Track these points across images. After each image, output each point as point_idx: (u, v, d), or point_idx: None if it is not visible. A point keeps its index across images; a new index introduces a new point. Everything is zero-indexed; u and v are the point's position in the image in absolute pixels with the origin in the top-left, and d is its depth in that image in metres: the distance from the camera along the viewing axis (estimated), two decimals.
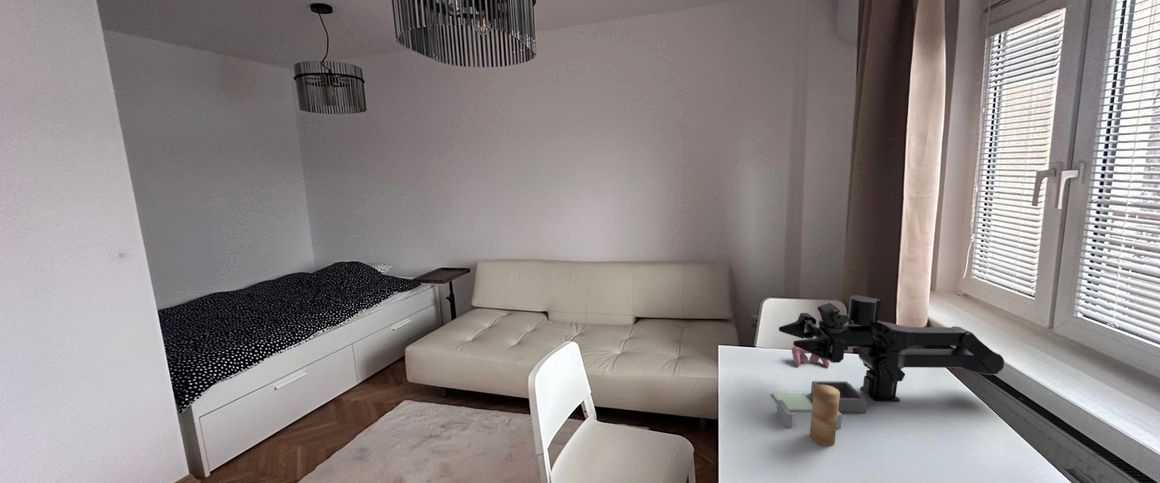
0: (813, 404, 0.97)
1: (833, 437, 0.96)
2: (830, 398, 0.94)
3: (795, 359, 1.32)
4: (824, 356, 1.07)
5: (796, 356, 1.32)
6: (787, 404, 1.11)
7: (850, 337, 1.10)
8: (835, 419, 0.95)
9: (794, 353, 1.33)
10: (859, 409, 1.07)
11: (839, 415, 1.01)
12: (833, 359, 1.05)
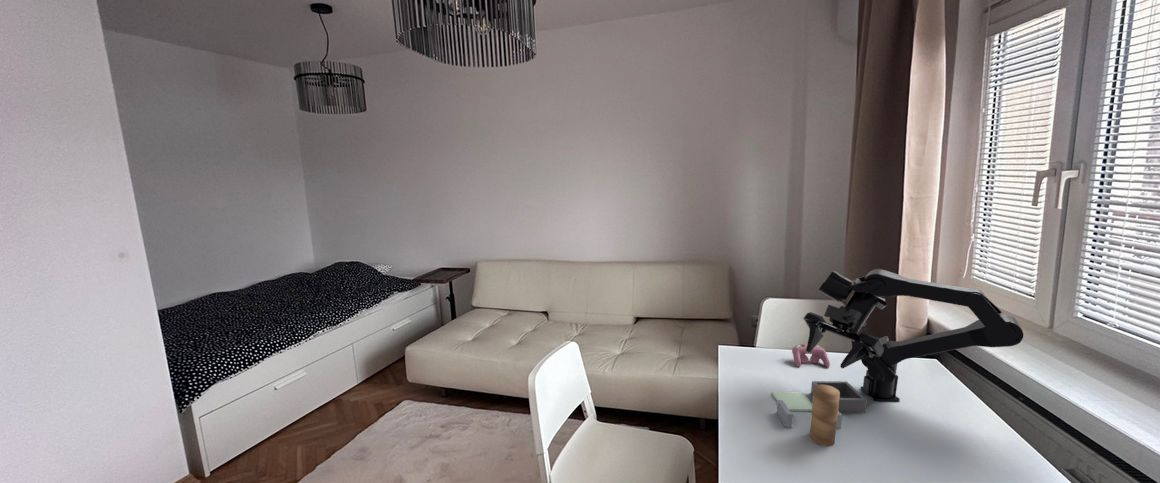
0: (813, 404, 0.97)
1: (833, 437, 0.96)
2: (830, 398, 0.94)
3: (796, 359, 1.32)
4: (868, 355, 1.07)
5: (797, 356, 1.32)
6: (787, 404, 1.11)
7: (864, 316, 1.11)
8: (835, 419, 0.95)
9: (794, 353, 1.33)
10: (859, 409, 1.07)
11: (839, 415, 1.01)
12: (879, 355, 1.06)
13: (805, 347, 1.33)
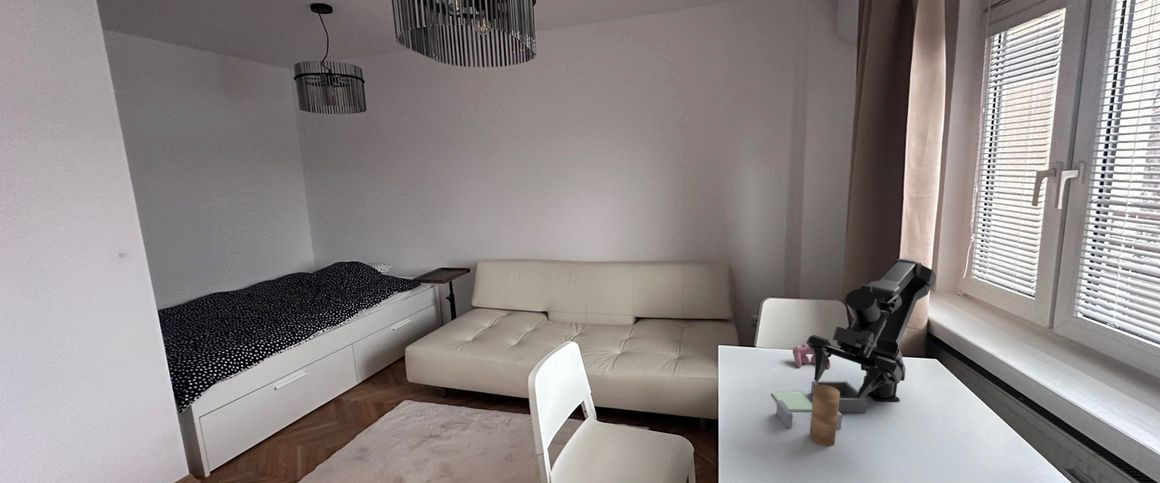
0: (813, 404, 0.97)
1: (833, 437, 0.96)
2: (830, 398, 0.94)
3: (796, 360, 1.32)
4: (885, 382, 0.95)
5: (797, 357, 1.32)
6: (787, 404, 1.11)
7: (874, 337, 0.99)
8: (835, 419, 0.95)
9: (795, 354, 1.33)
10: (859, 409, 1.07)
11: (839, 415, 1.01)
12: (898, 381, 0.94)
13: (806, 347, 1.33)
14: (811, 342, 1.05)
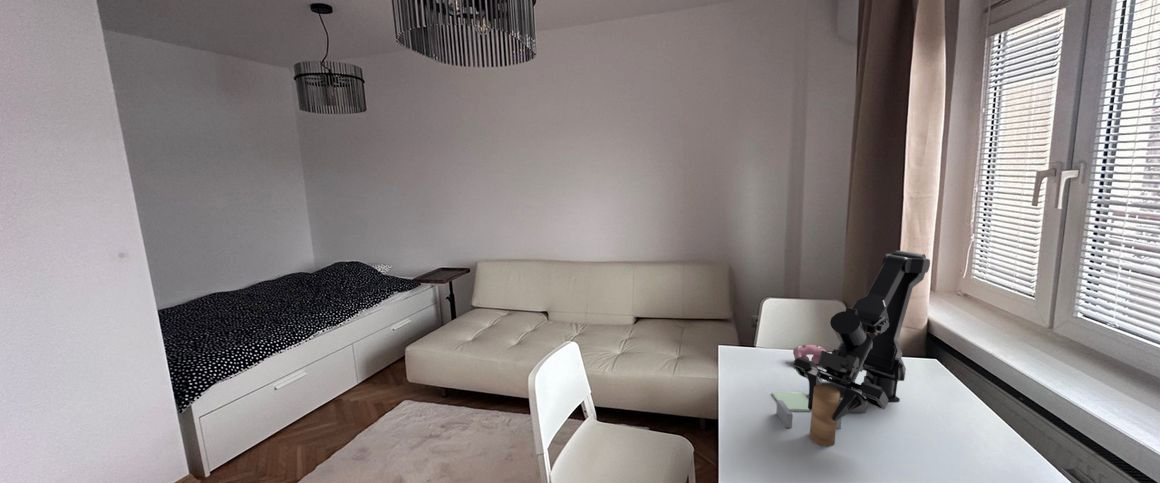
0: (813, 404, 0.97)
1: (833, 437, 0.96)
2: (830, 398, 0.94)
3: None
4: (862, 404, 0.95)
5: None
6: (787, 404, 1.11)
7: (861, 361, 0.97)
8: None
9: (796, 354, 1.32)
10: (859, 409, 1.07)
11: None
12: (884, 407, 0.91)
13: (806, 348, 1.32)
14: (797, 365, 1.03)
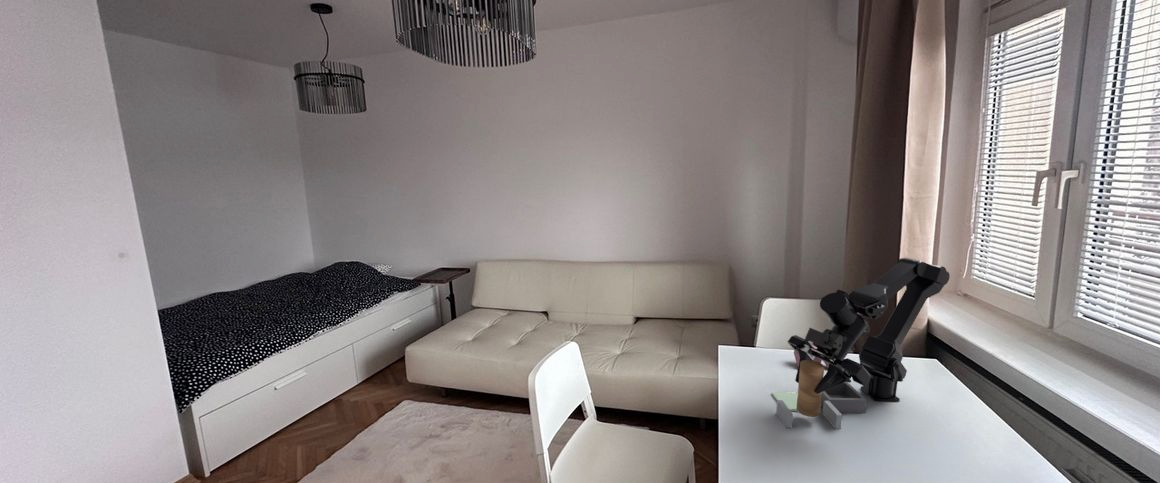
0: (799, 377, 1.04)
1: (816, 409, 1.02)
2: (812, 372, 1.00)
3: (797, 361, 1.31)
4: (846, 380, 1.00)
5: (798, 358, 1.31)
6: (787, 404, 1.11)
7: (850, 341, 1.02)
8: None
9: (796, 355, 1.32)
10: (859, 409, 1.07)
11: (839, 415, 1.01)
12: (865, 384, 0.96)
13: None
14: (791, 342, 1.10)
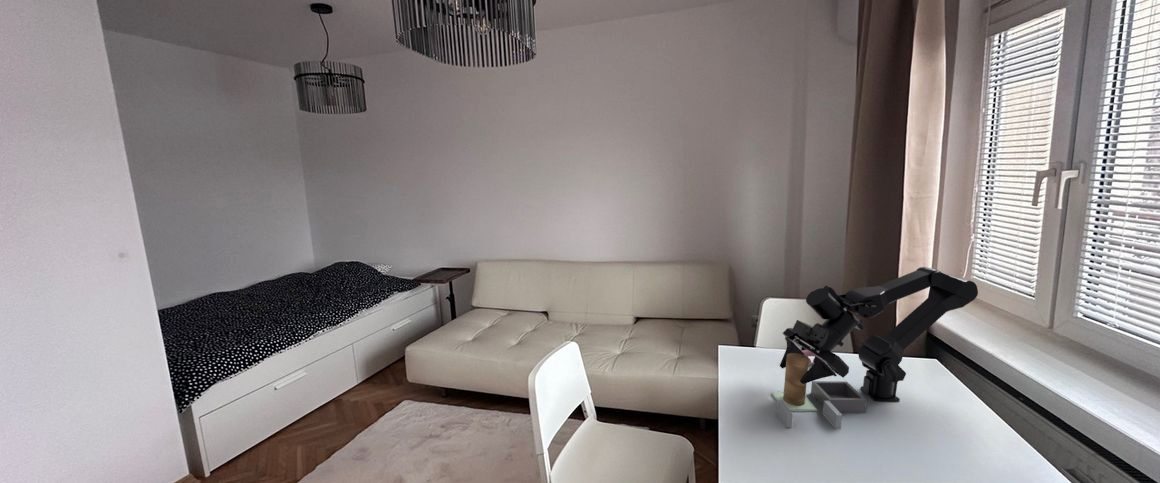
0: None
1: (799, 399, 1.10)
2: (795, 363, 1.08)
3: None
4: (832, 374, 1.05)
5: None
6: (787, 404, 1.11)
7: (837, 335, 1.08)
8: (801, 383, 1.09)
9: None
10: (859, 409, 1.07)
11: (839, 415, 1.01)
12: (842, 375, 1.02)
13: None
14: (785, 333, 1.18)
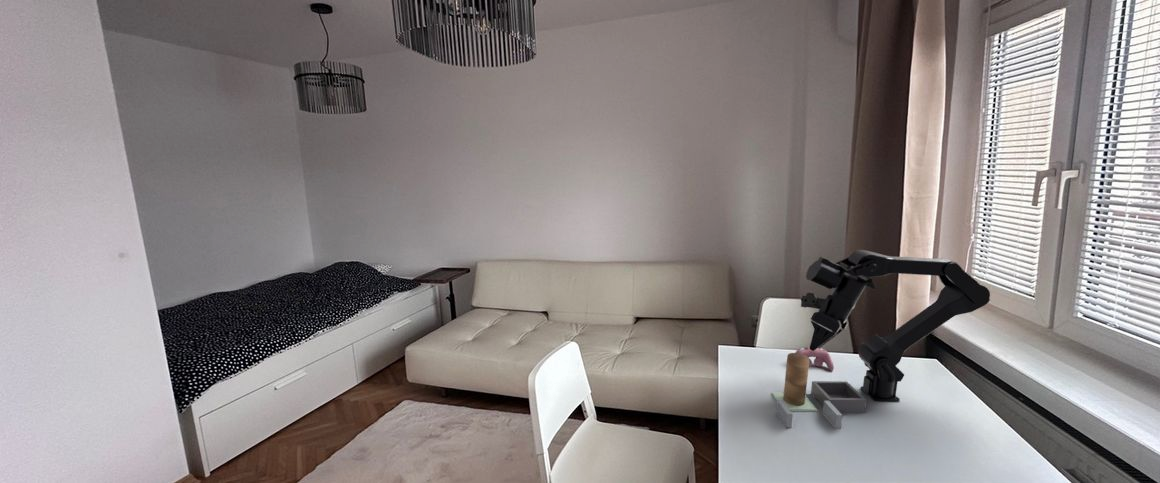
0: None
1: (799, 398, 1.10)
2: (796, 363, 1.08)
3: None
4: (831, 333, 1.06)
5: None
6: (787, 404, 1.11)
7: (838, 298, 1.10)
8: (801, 383, 1.09)
9: None
10: (859, 409, 1.07)
11: (839, 415, 1.01)
12: (831, 329, 1.05)
13: (809, 350, 1.31)
14: None
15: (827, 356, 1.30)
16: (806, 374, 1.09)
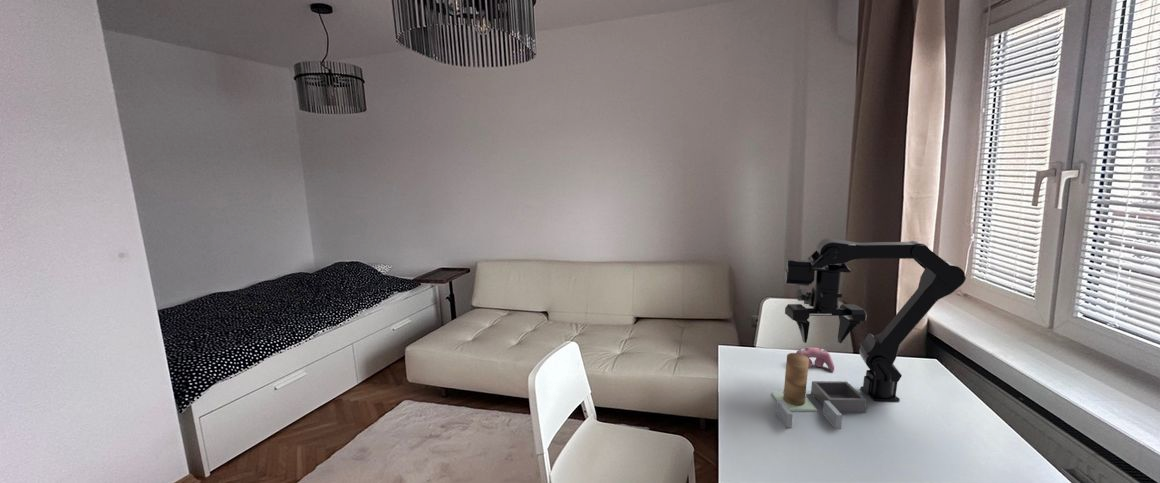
0: None
1: (799, 399, 1.10)
2: (795, 363, 1.08)
3: None
4: None
5: None
6: (787, 404, 1.11)
7: (814, 289, 1.16)
8: (801, 383, 1.09)
9: None
10: (859, 409, 1.07)
11: (839, 415, 1.01)
12: (792, 318, 1.15)
13: (809, 351, 1.30)
14: None
15: (828, 357, 1.30)
16: (806, 374, 1.09)
